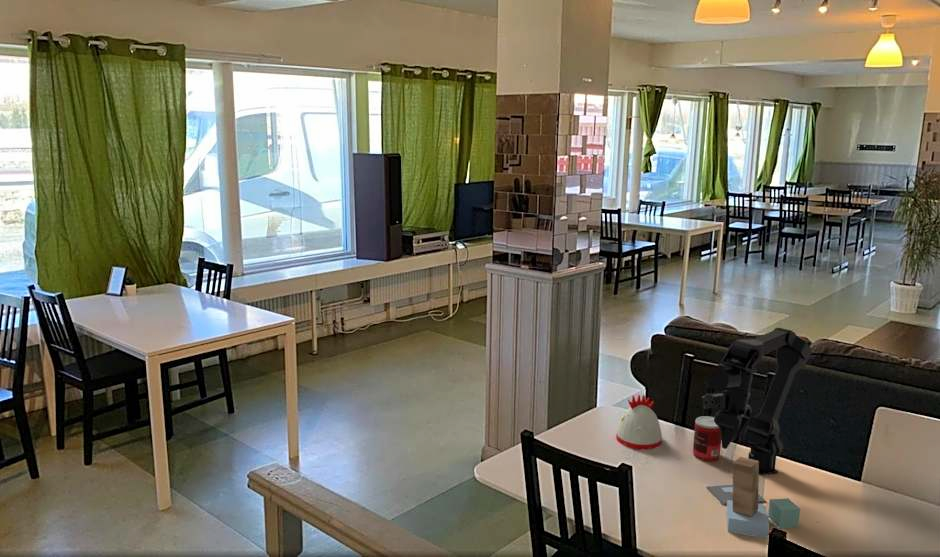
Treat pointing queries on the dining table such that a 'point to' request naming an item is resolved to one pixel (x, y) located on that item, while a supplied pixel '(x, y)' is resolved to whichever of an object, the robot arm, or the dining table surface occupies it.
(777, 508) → the teal cube
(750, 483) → the walnut pillar
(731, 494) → the card
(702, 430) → the canned food
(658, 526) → the dining table surface
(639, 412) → the kitchen timer
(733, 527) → the blue base block
